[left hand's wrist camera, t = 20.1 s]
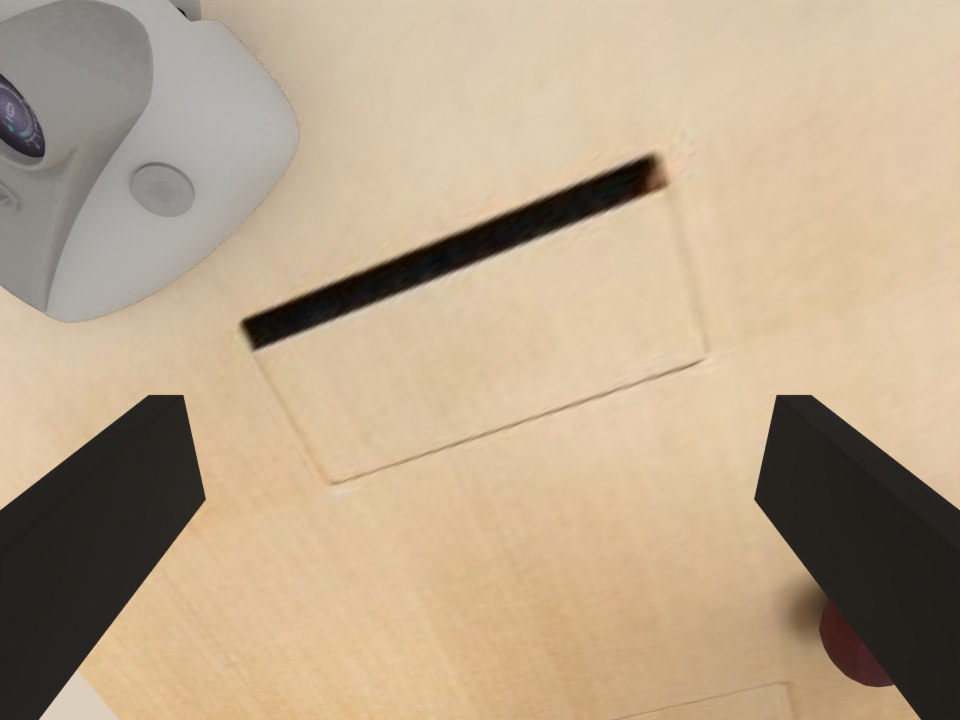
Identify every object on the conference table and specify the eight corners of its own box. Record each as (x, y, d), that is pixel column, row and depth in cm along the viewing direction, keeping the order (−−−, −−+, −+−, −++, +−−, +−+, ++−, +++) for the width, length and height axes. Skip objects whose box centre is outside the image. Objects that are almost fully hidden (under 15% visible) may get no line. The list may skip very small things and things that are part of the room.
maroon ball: (808, 643, 53) (854, 714, 47) (798, 582, 50) (845, 649, 44) (888, 624, 52) (947, 694, 46) (882, 561, 50) (944, 626, 43)
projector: (-98, -46, 33) (-503, -174, 19) (288, -66, 33) (152, -211, 19) (29, 315, 41) (-193, 402, 28) (340, 302, 41) (270, 384, 27)
